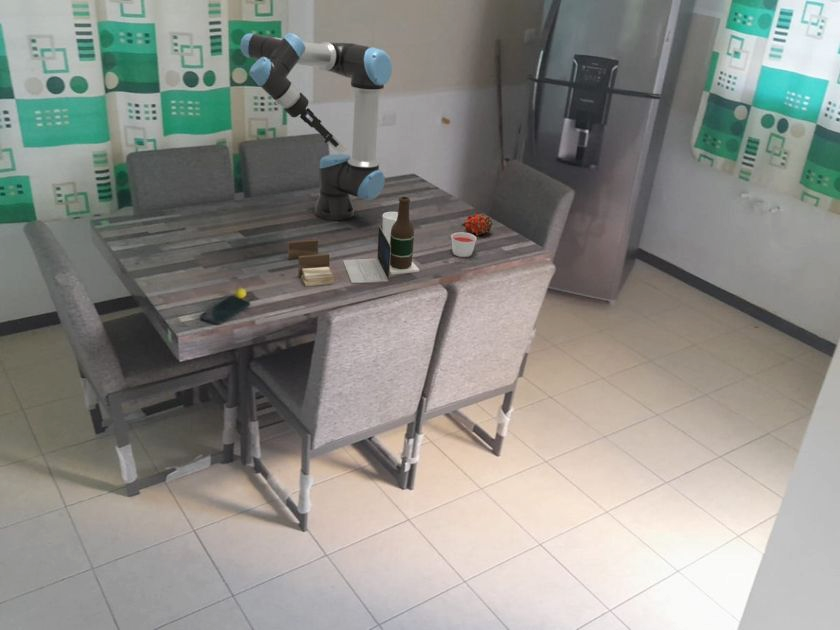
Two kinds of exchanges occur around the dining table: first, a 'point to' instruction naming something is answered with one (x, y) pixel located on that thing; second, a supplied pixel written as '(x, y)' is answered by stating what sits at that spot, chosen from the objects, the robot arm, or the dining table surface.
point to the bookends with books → (311, 262)
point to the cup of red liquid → (463, 244)
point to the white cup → (389, 223)
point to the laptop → (371, 264)
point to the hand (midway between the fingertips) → (337, 145)
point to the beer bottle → (402, 237)
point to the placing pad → (404, 270)
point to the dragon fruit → (477, 224)
